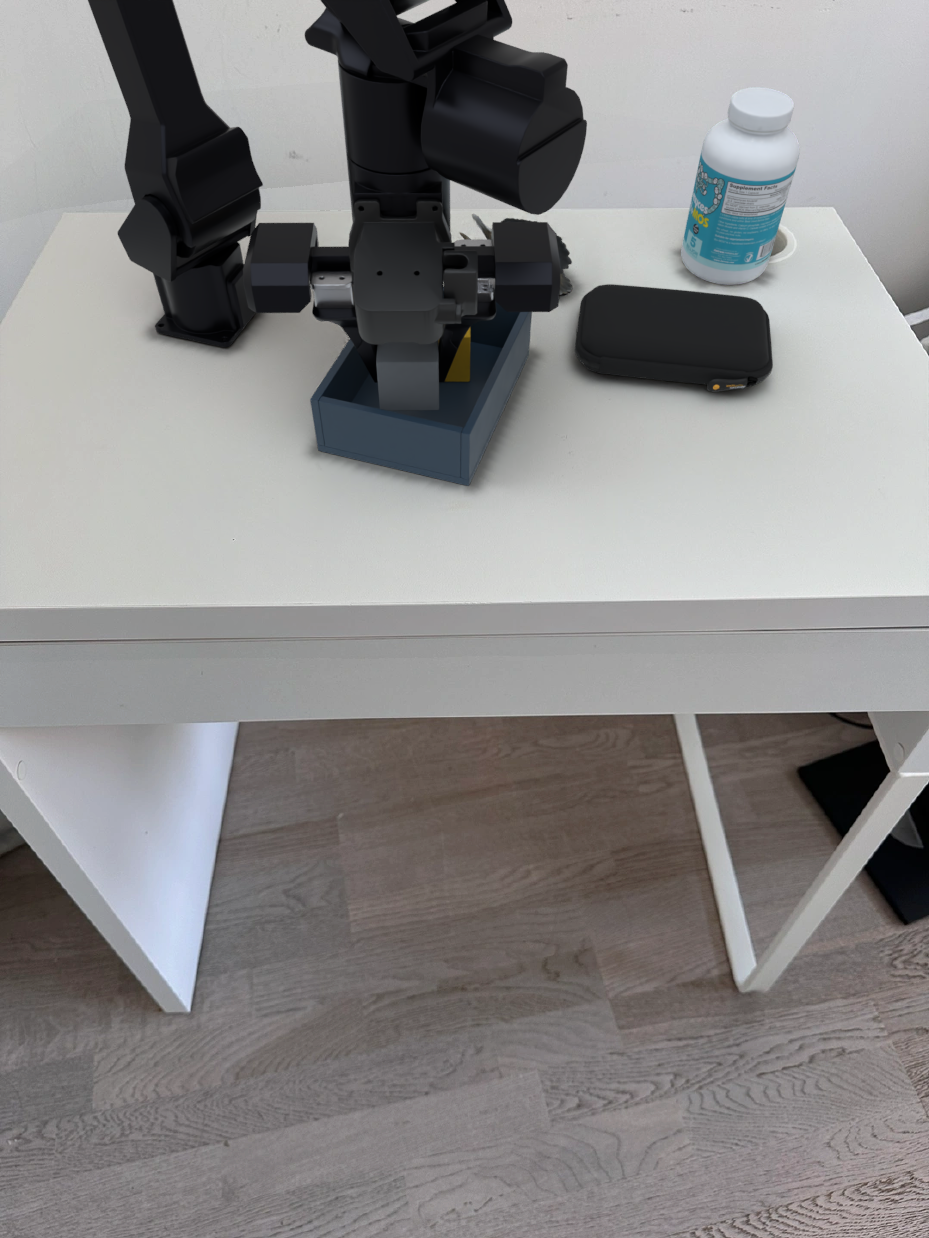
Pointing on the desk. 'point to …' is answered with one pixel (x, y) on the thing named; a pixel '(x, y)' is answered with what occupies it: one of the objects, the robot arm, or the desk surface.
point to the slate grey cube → (408, 376)
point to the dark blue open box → (425, 436)
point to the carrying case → (674, 336)
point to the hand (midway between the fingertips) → (409, 379)
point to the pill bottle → (741, 188)
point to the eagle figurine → (562, 248)
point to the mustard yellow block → (461, 362)
